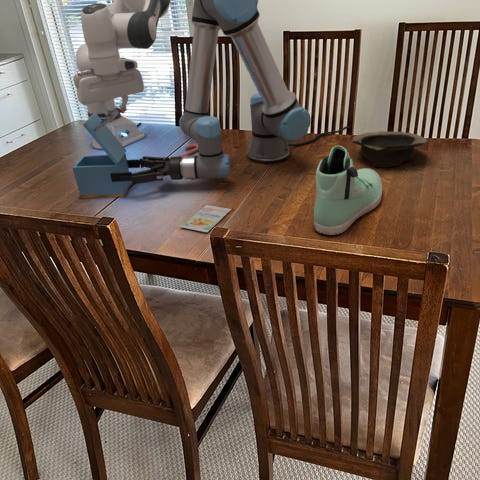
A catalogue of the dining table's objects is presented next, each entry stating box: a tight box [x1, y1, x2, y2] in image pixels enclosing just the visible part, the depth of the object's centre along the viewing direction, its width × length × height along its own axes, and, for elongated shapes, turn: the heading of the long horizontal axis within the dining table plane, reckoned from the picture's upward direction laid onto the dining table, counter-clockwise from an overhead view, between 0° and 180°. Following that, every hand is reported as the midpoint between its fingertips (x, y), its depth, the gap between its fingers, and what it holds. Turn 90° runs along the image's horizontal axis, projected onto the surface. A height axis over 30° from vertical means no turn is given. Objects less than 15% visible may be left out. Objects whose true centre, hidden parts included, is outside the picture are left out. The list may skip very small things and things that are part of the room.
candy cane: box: [180, 143, 199, 158], centre depth 185 cm, size 6×15×2 cm, turn 145°
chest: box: [72, 153, 133, 199], centre depth 159 cm, size 15×10×11 cm
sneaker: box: [313, 145, 383, 236], centre depth 133 cm, size 14×35×20 cm, turn 152°
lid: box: [82, 110, 127, 164], centre depth 150 cm, size 15×10×8 cm
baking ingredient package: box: [180, 204, 232, 233], centre depth 139 cm, size 9×1×15 cm
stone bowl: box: [351, 131, 429, 168], centre depth 166 cm, size 25×25×9 cm
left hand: (115, 112), depth 147 cm, fingers open, 4 cm apart
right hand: (115, 170), depth 157 cm, fingers closed on chest, 10 cm apart
